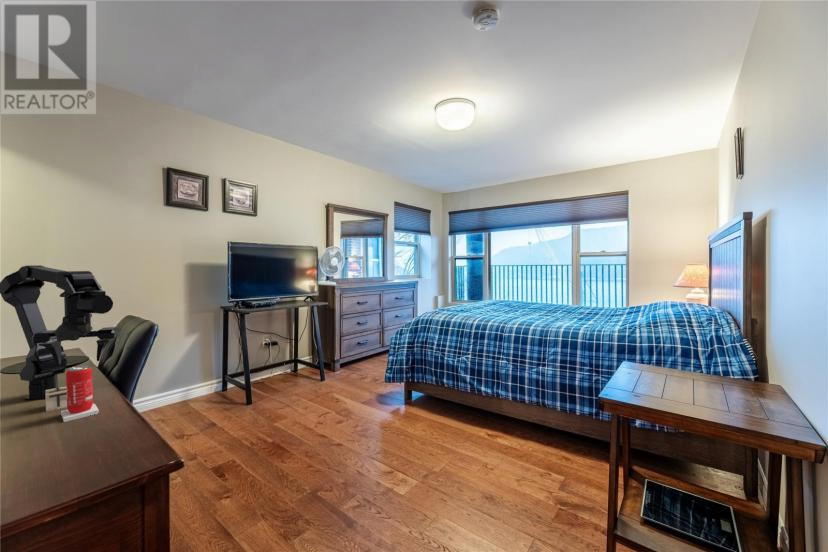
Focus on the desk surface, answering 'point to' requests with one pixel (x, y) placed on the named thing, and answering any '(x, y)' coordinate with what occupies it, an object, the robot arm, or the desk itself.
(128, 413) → the desk surface
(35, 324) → the robot arm
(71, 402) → the beverage can
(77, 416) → the white mat
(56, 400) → the letter block
